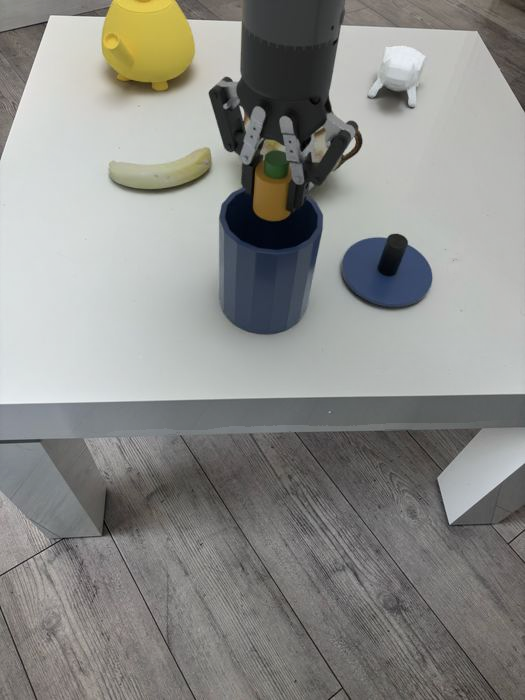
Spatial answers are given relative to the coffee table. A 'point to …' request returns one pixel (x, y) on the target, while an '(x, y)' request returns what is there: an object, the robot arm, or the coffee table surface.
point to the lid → (387, 271)
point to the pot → (266, 264)
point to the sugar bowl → (319, 145)
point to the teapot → (147, 41)
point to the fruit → (162, 171)
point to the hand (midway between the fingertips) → (273, 198)
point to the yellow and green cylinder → (272, 186)
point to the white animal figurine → (400, 71)
